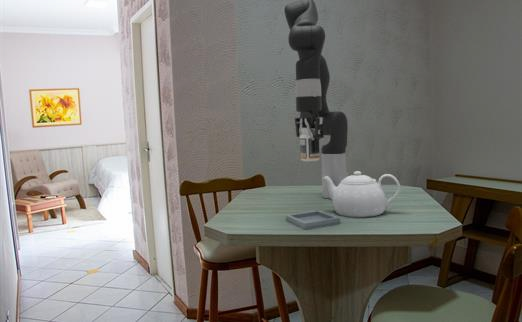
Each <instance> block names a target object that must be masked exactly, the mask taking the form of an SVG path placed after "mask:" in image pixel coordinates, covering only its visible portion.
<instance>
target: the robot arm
mask: <svg viewBox="0 0 522 322" xmlns="http://www.w3.org/2000/svg"><path fill="white" fill-rule="evenodd" d="M283 10H284V14H285V15H284V16H285V19H286V22H287V25H288V29H289V33H288V38H287V39H288V45H289V48H291V50H293V51H295V52H297V56H298V60H297V61H296V63H295V111H296V112H297V113H300V114H299V117H295V118H294V125H295V133H296V138H299V139H300V136H301V135H302V132H301V128H307V129H308V133H310V135H311V139H312V141H311V147H312V153H319V151H320V140H321V139H323V138H324V137H325V136H330V137H329V138H330V139H329V141H328V143H326V144H323V145H322V146H321V152H320V153H321V179H323V178H324V177H325V176H328V177H329V178H330V179H331V180H332V182H333V184H334V185H335V186H336V187H337V186H338V185H339V184H340V183H341V181H342V180H343V179H344V178H346V177H348V176H349V172H348V171H347V166H346V165H347V163H346V162H347V161H346V154H347V153H346V149H347V145H348V130H349V129H348V128H349V127H348V125H349V124H348V117H347V115H346V114H345V113H344V112H343V111H336V110H335V111H330V109H329V106H328V103H327V95H328V94H327V93H328V90H329V85H330V82H331V80H330V77H331V76H330V72H329V67H328V64H327V61H326V58H325V57H324V55H323V54H322V53H323V49H324V44H325V41H326V32H325V29H324V28H323V26H321V25H318V24H317V23H318V22H319V21H318V20H319V13H318V10H317V6H316V3H315V1H314V0H296V1H294V2H290V3H288V4H286V5H285V6H284V9H283ZM311 128H315V129H311ZM314 133H315V134H314ZM321 182H322V183H321V185H322V186H321V187H322V188H321V189H322V190H321V191H322V197H323V198H325V199H331V198H330V195H329V192H328V186H327V184H326V182H325V181H322V180H321Z"/></svg>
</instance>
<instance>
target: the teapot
mask: <svg viewBox="0 0 522 322" xmlns="http://www.w3.org/2000/svg"><path fill="white" fill-rule="evenodd" d="M385 178H390V179H392V180H393V181H394V183H395V184H396V192H395V193H394V195H392V196H391V197H390V198H388V199H387V197H386V193H385V191H384V189H383V188H382V187H383V185H382V180H383V179H385ZM320 180H321V182H322V181H325V182H326V184H327V186H328V192H329V195H330V198H331V201H332V205H333V206H332V207H333V209H334V212H335V213H336V214H338V215H340V216H343V217H349V218H369V217H377V216H379V215H381V214H383V213H384V212H385V211H386V210H387V209H388V208H389V206H390V203H391V202H392V201H393V200H394V199H396V198H397V197H398V195H399V194H400V192H401V185H400V182H399V180H398V179H397V177H396V176H394V175H393V174H390V173H385V174H382V175H381V176H380V177H379V178H378V181H377V179H375V178H372V177H371V176H369V175H365V174H362V172H361V171H359V170H356V171H353V175H348V177H346V178H344V179H343V180H342V181H341V183H340V184H339V185H338V186H337V187H336V186H335V185H334V184H333V182H332V180H331V179H330V178H329V177H328V176H325V177H324V178H323V179H322V178H321V179H320ZM330 198H329V199H330Z"/></svg>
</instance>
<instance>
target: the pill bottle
mask: <svg viewBox="0 0 522 322" xmlns="http://www.w3.org/2000/svg"><path fill="white" fill-rule="evenodd" d="M311 129H315V128H311ZM301 132H302V135H301V136H300V138H299V142H300V143H299V145H300V161H302V162H317V161H320V159H321V158H320V156H321V155H320V153H321V152H320V150H319V153H312V147H311V141H312V139H311V135H310V133H308V129H307V128H301ZM314 134H315V133H314Z"/></svg>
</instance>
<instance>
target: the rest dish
mask: <svg viewBox="0 0 522 322" xmlns="http://www.w3.org/2000/svg"><path fill="white" fill-rule="evenodd" d="M285 222H287V223H290V224H292V225H294V226H296V227H298V228H301V229H302V230H311V229H316V228H323V227H328V226H335V225H340V224H341V218H340V217H338V216H336V215H333V214H330V213H327V212H325V211H323V210H319V209H318V210H311V211H306V212H305V211H304V212H297V213H291V214H286V215H285Z"/></svg>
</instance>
